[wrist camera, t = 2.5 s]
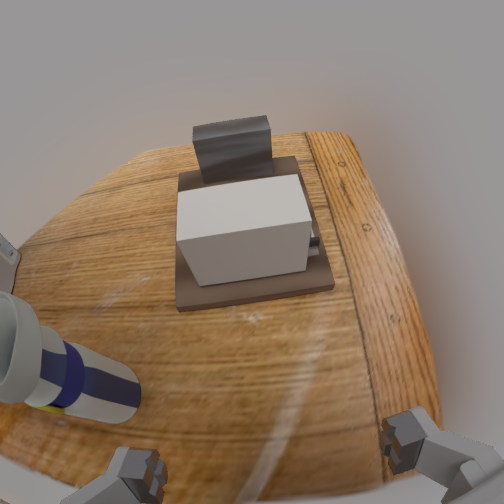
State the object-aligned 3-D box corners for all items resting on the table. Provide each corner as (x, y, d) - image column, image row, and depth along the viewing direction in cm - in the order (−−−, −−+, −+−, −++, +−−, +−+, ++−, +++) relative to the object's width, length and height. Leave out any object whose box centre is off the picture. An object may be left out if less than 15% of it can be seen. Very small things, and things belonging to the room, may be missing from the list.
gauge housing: (324, 267, 34) (335, 217, 26) (199, 286, 34) (176, 241, 26) (307, 210, 38) (312, 156, 31) (197, 226, 38) (178, 175, 31)
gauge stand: (332, 289, 34) (347, 243, 26) (179, 312, 35) (149, 273, 27) (294, 162, 46) (295, 112, 38) (181, 180, 46) (165, 132, 38)
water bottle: (144, 433, 27) (-64, 393, 6) (82, 420, 28) (-105, 357, 6) (148, 363, 31) (-23, 236, 10) (88, 357, 32) (-74, 246, 11)
